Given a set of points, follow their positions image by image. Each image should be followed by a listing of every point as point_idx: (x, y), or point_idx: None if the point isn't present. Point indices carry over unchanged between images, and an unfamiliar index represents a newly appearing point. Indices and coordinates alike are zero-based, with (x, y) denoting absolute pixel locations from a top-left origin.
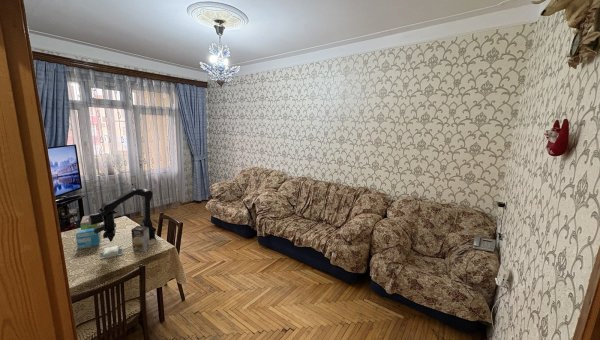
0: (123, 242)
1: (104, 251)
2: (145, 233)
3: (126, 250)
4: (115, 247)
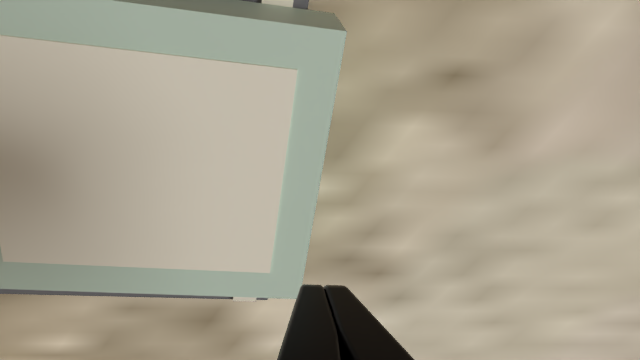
0: (500, 307)
1: (112, 15)
2: None
3: (141, 340)
4: (221, 250)
